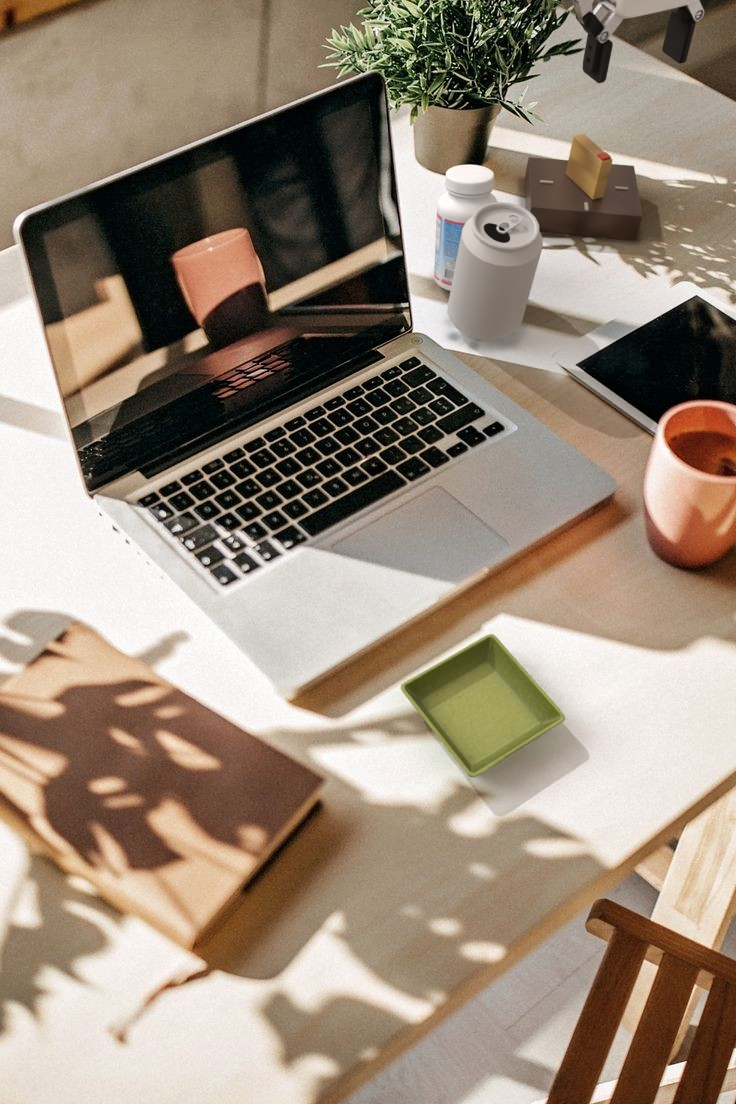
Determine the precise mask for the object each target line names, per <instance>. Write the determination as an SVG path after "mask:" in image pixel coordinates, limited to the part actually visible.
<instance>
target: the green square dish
mask: <svg viewBox="0 0 736 1104" xmlns="http://www.w3.org/2000/svg"><path fill="white" fill-rule="evenodd" d="M400 690H401V692H402V694H403V695H404V696H405V697H406V698H407V700H408V701H409V702H410V704H411V705H412V706H413V707H414V708H415V710H416V711H417V713H418V714H419V715H420V716H421V718H422V719H423V720H424V722H425V723H426V724H427V725H428V727H429V728H430V729H431V730H432V732H433V733H434V735H436V736H437V738H438V739H439V741H440V742H441V743H442V744H443V745H444V747H445V748H446V750H447V751H448V752H449V753H450V755H451V756H452V758H454V760H455V761H456V763H458V765H459V766H460V767H461V768H462V770H463V771H464V772H465V774H466V775H467V776H468V777H470V778H477V777H479V776H480V775H482V774H483V773H485V772H487V771H488V770H490V769H491V768H493V767H495V766H496V765H497V764H499V763H501V762H502V761H504V760H505V759H507V758H509V757H510V756H512V755H513V754H515V753H516V752H518V751H519V750H521V749H522V748H524V747H526V746H527V745H529V744H531V743H533V741H535V740H537V739H539V738H540V737H542V736H543V735H545V734H546V733H548V732H549V731H551V730H552V729H554V728H556V727H558V726H559V725H561V724H562V723H564V722H565V720H566V716H565V714H564V713H563V711H562V710H561V709H560V708H559V706H558V705H557V704H556V703H555V702H554V701H553V699H551V697H550V696H549V695H548V694H547V693H546V692H545V690H543V688H542V687H541V686H540V685H539V684H538V683H537V681H535V679H534V678H533V677H532V675H530V674H529V673H528V671H527V670H526V669H525V667H523V666H522V664H521V663H520V662H519V661H518V660H517V659H516V658H515V657H514V655H513V654H512V653H511V651H509V649H507V647H506V646H505V644H503V643H502V642H501V640H500V639H499V638H498V636H496V635H495V634H494V633H490V634H486V635H485V636H483V637H481V638H479V639H477V640H476V641H474V642H472V643H471V644H468V645H467V646H464V647H463V648H462V649H460V650H458V651H457V652H456V653H453V654H452V655H450V656H448V657H446V658H445V659H443V660H441V661H440V662H438V663H436V664H434V665H432V666H431V667H429V668H428V669H425V670H424V671H422V672H420V673H418V674H416V675H415V676H413V677H411V678H409V679H407V680H406V681H404V682H402V683H401V685H400Z"/></svg>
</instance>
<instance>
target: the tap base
mask: <svg viewBox="0 0 736 1104" xmlns="http://www.w3.org/2000/svg"><path fill="white" fill-rule="evenodd" d="M568 160H569V159H557V158H556V159H555V158H544V157H532V156H528V159H527V164H526V169H525V175H524V178H523V179H524V180H523V182H524V183H523V184H524V205H525V206H524V208H525V209H526V210H528V211H529V212H530V213H531V214H532V215H533V216H534V217H535V218H536V219H537V221H538V224H539V231H540V233H545V234H557V235H566V236H567V235H569V236H580V237H593V238H603V239H604V238H605V239H606V238H607V239H615V240H628V241H636V240H637V236H638V233H639V229H640V227H641V223H642V219H643V211H642V207H641V206H642V205H641V200H640V193H639V188H638V181H637V176H636V169H635V166H634V165H628V164H616V163H612V164H611V168H610V172H609V176H608V180H607V184H606V188H605V192H604V196H603V197H602V198H598V199H594V200H592V199H591V198H590V197H589V196H588V195H587V194H586V193H585V192H584V191H583V190H582V189H581V188H580V187H579V186H578V185H577V184H576V183H575V182H574V181H573V180H572V179H570V178H569V177H568V176H567V175H566V169H567V164H568Z"/></svg>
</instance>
